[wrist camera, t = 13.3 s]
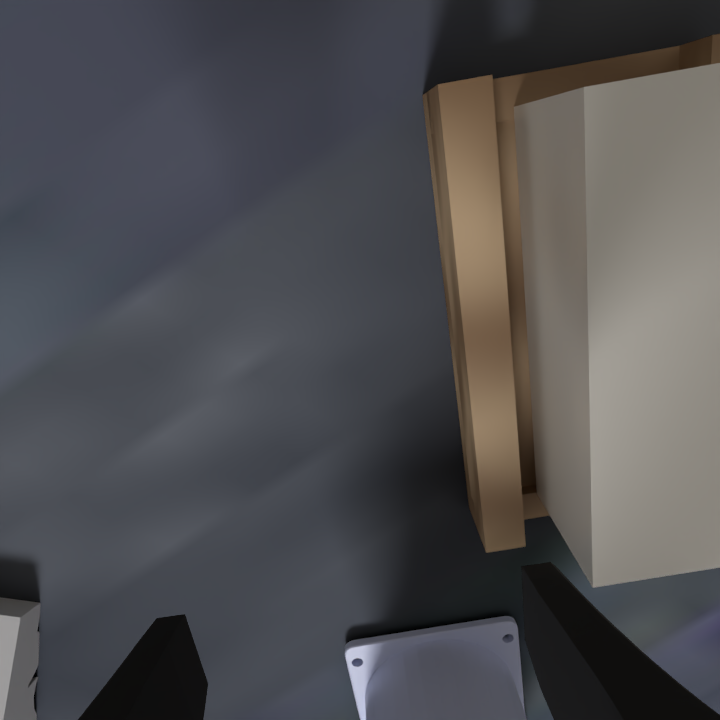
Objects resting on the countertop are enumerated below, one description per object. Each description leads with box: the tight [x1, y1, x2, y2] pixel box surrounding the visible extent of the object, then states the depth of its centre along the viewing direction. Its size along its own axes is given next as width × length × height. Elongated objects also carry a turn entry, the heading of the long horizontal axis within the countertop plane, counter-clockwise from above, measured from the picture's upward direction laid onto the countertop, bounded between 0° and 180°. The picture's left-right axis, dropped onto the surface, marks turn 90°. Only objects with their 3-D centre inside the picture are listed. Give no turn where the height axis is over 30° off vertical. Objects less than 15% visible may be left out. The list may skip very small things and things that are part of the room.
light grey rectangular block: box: [514, 63, 720, 588], centre depth 17 cm, size 14×4×5 cm, turn 9°
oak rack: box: [423, 34, 720, 553], centre depth 19 cm, size 16×9×3 cm, turn 9°
